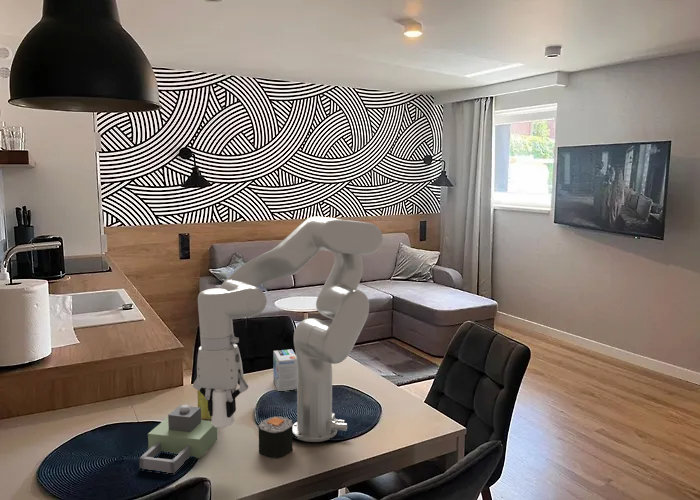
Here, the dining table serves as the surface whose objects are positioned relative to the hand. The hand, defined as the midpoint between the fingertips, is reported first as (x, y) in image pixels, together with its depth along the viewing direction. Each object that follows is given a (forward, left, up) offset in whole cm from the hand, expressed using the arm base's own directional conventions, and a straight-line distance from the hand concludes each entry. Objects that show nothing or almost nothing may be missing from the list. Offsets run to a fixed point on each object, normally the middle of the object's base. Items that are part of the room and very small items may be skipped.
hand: (222, 413), depth 132 cm
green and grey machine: (+14, -2, -13) cm, 19 cm away
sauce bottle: (+14, -21, -13) cm, 28 cm away
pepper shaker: (0, 0, -3) cm, 3 cm away
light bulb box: (+1, -51, -13) cm, 53 cm away
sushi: (-10, -9, -13) cm, 19 cm away
